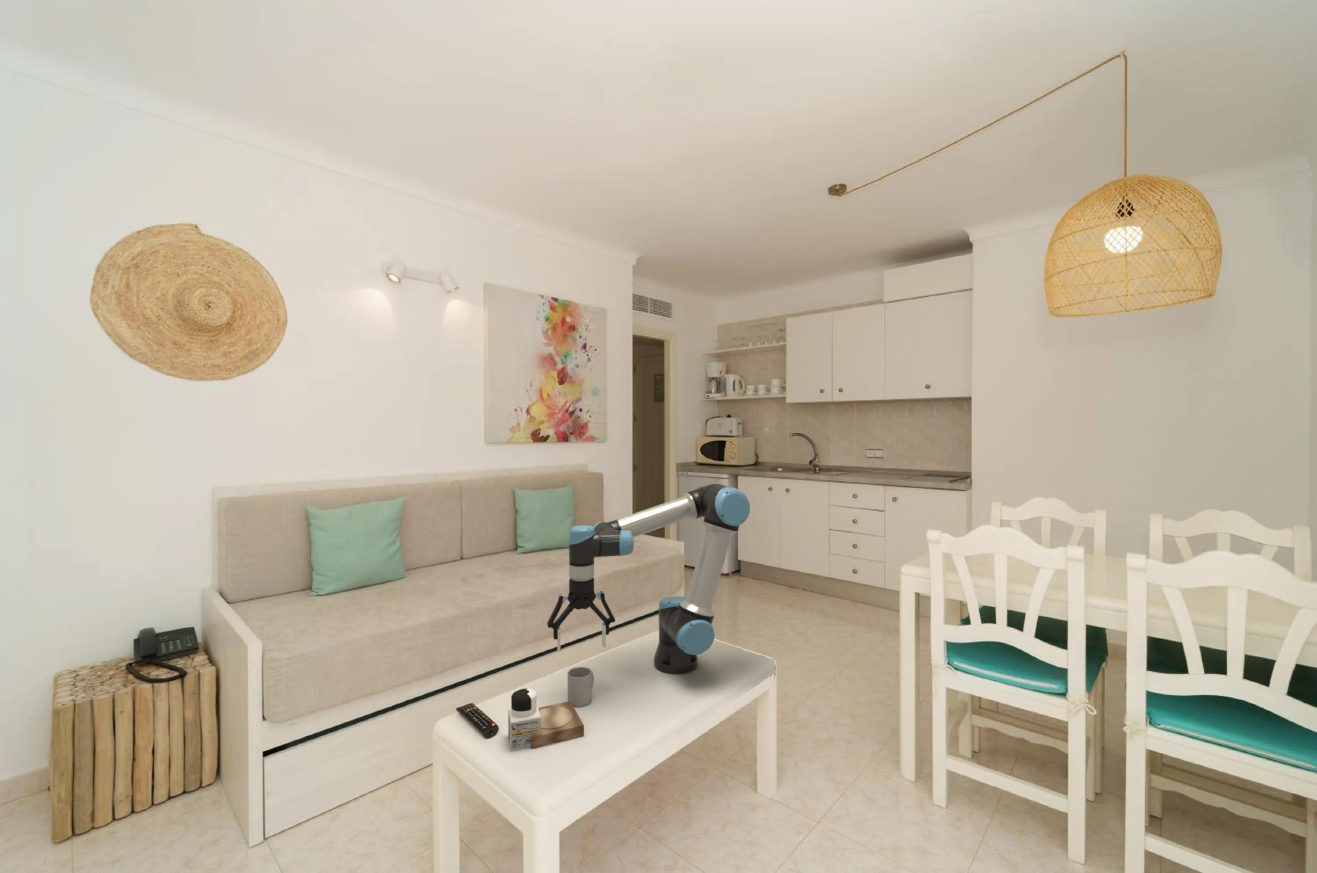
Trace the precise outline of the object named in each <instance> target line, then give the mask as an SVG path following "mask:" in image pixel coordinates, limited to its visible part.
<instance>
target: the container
mask: <svg viewBox="0 0 1317 873" xmlns="http://www.w3.org/2000/svg"><path fill="white" fill-rule="evenodd" d="M537 696H538V694H537V691H536V690H534V689H532V688H521V689H518V690H516V691H514V692H513V693H512V694H511V696H510V700H511V702H510V704H511V706H510V707H509V708H508V709H507V717H508V718H507V723H508V724H507V725H508V730H507V731H508V732H507V733H508V740H509V747H510V751H513V752H514V751H517V750H521V749H523V750H524V749H529V748H531V736H532V735H537V734H541V716H540V712H539V709H538V708H539V706H538V701H537V700H538V699H537Z"/></svg>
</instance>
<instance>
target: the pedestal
mask: <svg viewBox="0 0 1317 873" xmlns="http://www.w3.org/2000/svg"><path fill="white" fill-rule="evenodd" d="M538 709H539V712H540V716H541V734H537V735H532V736H531V747H530V749H533V750H534V749H537V748H540V747H545V746H548V745H553V744H557V743H560V742H565V741H569V740H573V739H577V738H581V737H584V736H585V724H584V722H583V721H582V719H581V718H580V716H579V714H578V712H577V710H576V709H575V707H573V705H572V703H571V702H570V701H568V700H567V701H564V702H559V703H555V704H551V705H550V704H549V705H544V706H541V707H538Z"/></svg>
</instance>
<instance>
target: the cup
mask: <svg viewBox="0 0 1317 873" xmlns="http://www.w3.org/2000/svg"><path fill="white" fill-rule="evenodd" d="M594 678H595V677H594V673H593V671H592V670H591V668H589V667H586V666H577V667H572V668H570V669H569V670H568V671H567V702H568V701H570V702H571V703H572V705H573V707H574V708H583V707H586V706H589V704H591V702H592V699H593V695H592V694H593V691H592V690H593V686H594V680H595V679H594Z"/></svg>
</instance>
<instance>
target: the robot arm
mask: <svg viewBox="0 0 1317 873" xmlns="http://www.w3.org/2000/svg"><path fill="white" fill-rule="evenodd" d="M750 511H751V505H750V501H749V499H748V497H747V495H746V494H745V493H744V492H743V491H741V490H739V489H738V488H735V487H733V486H727V485H723V484H719V483H710V484H707V485H703V486H700V487H698V488H696V489H693V490H690V491H686V492H685V493H684V494H683V496H681V497H679V498H676V499H673V500H670V501H666V502H664V503H661V504H658V505H655V506H652V507H649V508H646V509H643V510H640V511H637V512H634V513H631V514H628V515H626V516H623V517H620V518H617V519H614V520H611V521H607V522H605V521H599V522H597V523H595V524H594V525H593V526H592V525H583V524H581V525H574V526H573V527H571V528H570V529H569V537H568V560H569V561H568V562H569V563H568V576H569V579H568V594H562V593H559V594H558V598H557V602H556V603H555V606H554V608H553V610H552V612H551V615H550V616H549V618H548V620H547V627H548V629H553V632H552V633H553V640H555V641H556V648H557V652H561V625H562V623H564V621H565V620H566V618H567V617H568V616H569V615H570V614H571V613H572V612H573V611H574V610H581V609H582V610H587V609H589V608H590V609H591V610H592V611H593V612H594V613H595V614H596V615H597V616H598V617H599V619H600V620H601V621H602V622H601V645H602V647H603V648H606V647H607V646H606V645H607V643H606V642H607V639H606V638H607V636H609V634H610V625H611V624H612V623H615V622H616V619H615V616H614V614H613V612H612V611H611V609H610V607H609V605H608V603H607V600H606V596H605V593H604V591H603V590H600V591H599V592H597V593H596V592H595V578H594V577H595V558H605V557H607V558H608V557H623V556H628V555H631V554H633V551H634V548H635V547H634V546H635V545H634V544H635V543H634V542H635V541H634V538H636V537H639V536H641V535H644V534H645V535H646V534H647V533H651V532H653V531H657V530H658V529H661V528H664V527H668V526H670V525H673V524H677V523H679V522H681V521H685V520H687V519H692V520H697V519H700V518H703V521H702V522H703V523H702V524H704V526H705V530H704V534H703V539H702V542H701V545H700V549H699V552H698V556H697V559H696V562H695V567H694V570H693V574H692V577H691V581H690V584H689V588H688V591H687V595H686V596H669V597H664V598H662V599H660V601H658V602H659V603H658V644H657V647H656V650H655V653H654V657H653V665H654V667H655V668H656V669H657V670H658V671H660V672H663V673H667V674H674V675H677V674H679V675H680V674H685V673H687V674H688V673H689V672H692V671H694V670H695V669H696V668H697V667H698V666H699V664H698V663H699V662H698V655H701V654H703V653H705V652H706V651H708V650H709V649H710V648H711V646H712V645H713V643H714V640H715V629H714V628H713V626H712V625H713V621H714V618H715V612H714V611H713V609H712V608H713V607H712V606H713V603H714V600H715V596H716V592H717V589H718V585H719V581H720V578H721V575H722V571H723V567H724V564H725V560H726V557H727V553H728V550H729V547H730V542H731V538H732V537H733V535H736V534H737V533H738V531H739V530H740V529H739V528H740V526H741V525H742V524H743V523H745V522H746V521H747V519H748V518H749V515H750ZM596 598H597V599H598V601H601V602H600V603H602V605H603V607H604V609H605V611H606V613H607V615H608V617H607V616H606V615H605V614H604V613H603V612H602V611H601V609H599V607H598V606H597V605H596V604H595V603H594V601H595V599H596ZM566 601H568V602H569V603H568V605H567V606H566V608H565V609H564V610H563V611H562V613H561V614H560V615H559V616H558V614H559V612H560V610H561V609H562V607H563V604H564V603H566ZM557 617H558V618H557Z"/></svg>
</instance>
